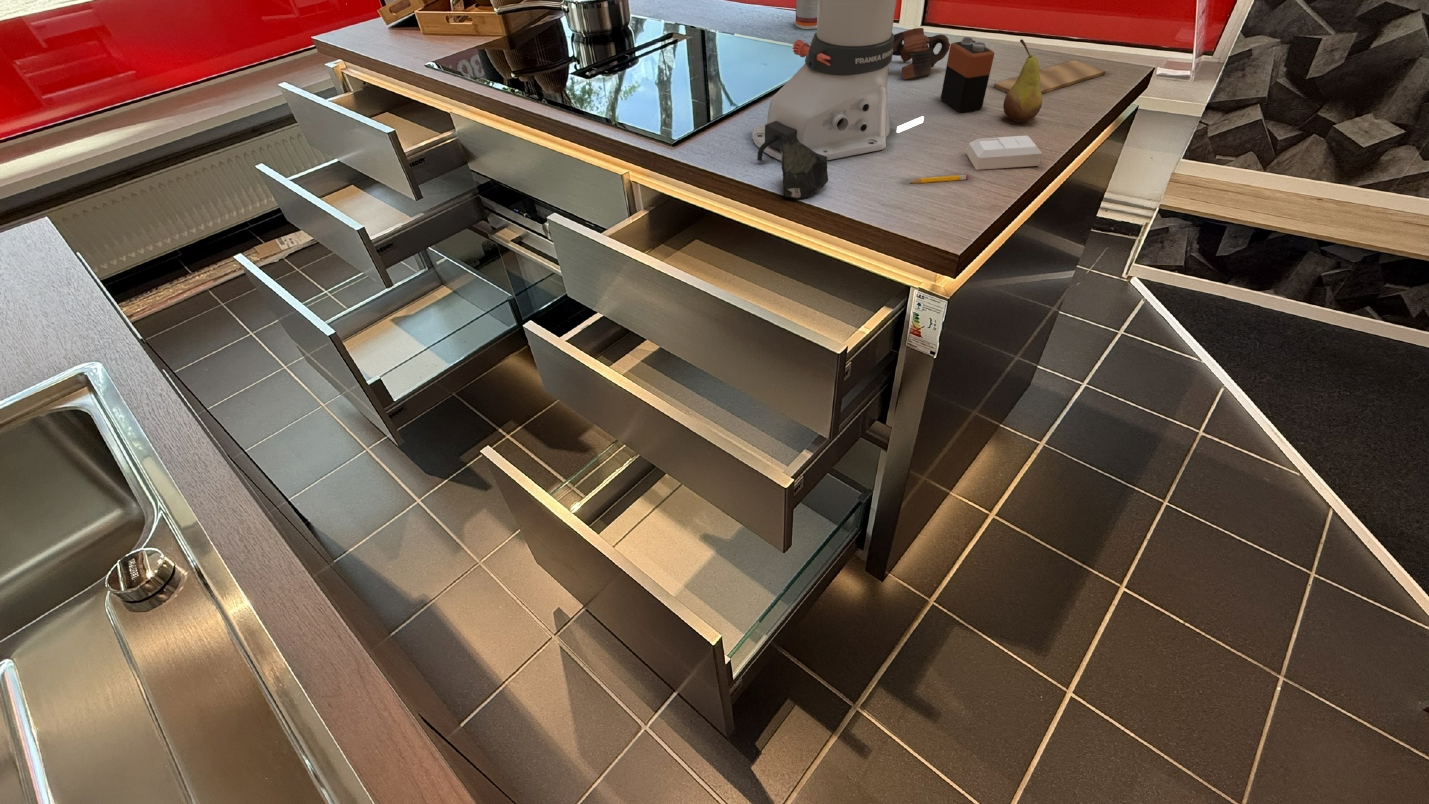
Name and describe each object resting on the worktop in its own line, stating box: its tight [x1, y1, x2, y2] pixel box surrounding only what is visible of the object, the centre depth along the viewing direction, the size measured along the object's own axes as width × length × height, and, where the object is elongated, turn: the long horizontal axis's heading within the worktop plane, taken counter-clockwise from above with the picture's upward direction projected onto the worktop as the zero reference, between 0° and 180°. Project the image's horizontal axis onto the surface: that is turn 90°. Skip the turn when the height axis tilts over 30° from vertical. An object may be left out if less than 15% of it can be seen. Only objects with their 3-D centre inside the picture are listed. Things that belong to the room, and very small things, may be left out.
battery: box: [940, 36, 995, 113], centre depth 113 cm, size 4×7×10 cm, turn 16°
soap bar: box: [966, 134, 1043, 171], centre depth 100 cm, size 5×9×3 cm, turn 90°
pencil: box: [908, 174, 969, 184], centre depth 97 cm, size 1×9×1 cm
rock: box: [781, 135, 829, 199], centre depth 97 cm, size 9×7×5 cm
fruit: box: [1003, 38, 1043, 123], centre depth 106 cm, size 6×6×12 cm
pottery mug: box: [892, 27, 951, 81], centre depth 127 cm, size 12×10×8 cm
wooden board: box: [993, 59, 1107, 95], centre depth 122 cm, size 20×7×1 cm, turn 119°
